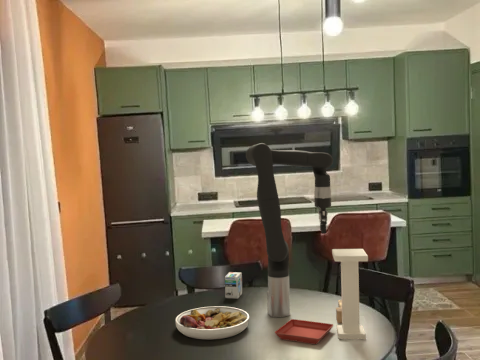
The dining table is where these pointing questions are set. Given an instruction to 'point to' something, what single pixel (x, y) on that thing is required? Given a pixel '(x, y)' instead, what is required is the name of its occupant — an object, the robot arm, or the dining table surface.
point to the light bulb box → (233, 285)
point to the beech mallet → (339, 312)
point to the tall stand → (350, 292)
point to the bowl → (212, 322)
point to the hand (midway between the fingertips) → (323, 231)
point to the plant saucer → (303, 331)
